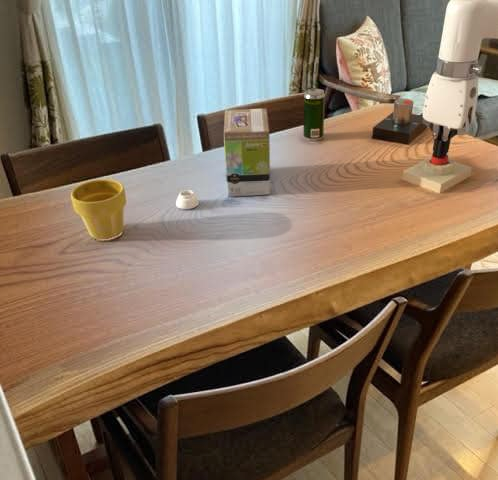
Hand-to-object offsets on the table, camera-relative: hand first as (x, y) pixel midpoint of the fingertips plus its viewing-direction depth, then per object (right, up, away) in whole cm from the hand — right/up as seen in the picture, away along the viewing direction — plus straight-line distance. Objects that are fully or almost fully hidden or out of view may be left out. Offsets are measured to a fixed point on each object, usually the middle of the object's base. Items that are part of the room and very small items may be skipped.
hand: (439, 155), depth 120 cm
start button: (0, -1, +1) cm, 2 cm away
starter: (0, -4, +3) cm, 5 cm away
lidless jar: (-56, -11, -1) cm, 57 cm away
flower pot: (-72, -19, -9) cm, 75 cm away
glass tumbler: (-2, +16, +24) cm, 29 cm away
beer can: (-25, +13, +26) cm, 38 cm away
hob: (-2, +14, +26) cm, 29 cm away
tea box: (-43, -4, +7) cm, 43 cm away
